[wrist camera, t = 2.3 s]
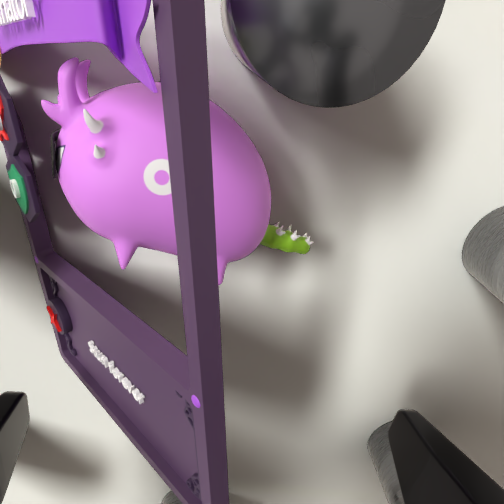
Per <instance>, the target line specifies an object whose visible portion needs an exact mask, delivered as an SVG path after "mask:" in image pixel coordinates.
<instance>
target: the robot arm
mask: <svg viewBox="0 0 504 504" xmlns="http://www.w3.org/2000/svg"><path fill="white" fill-rule="evenodd" d="M29 419H30V416H29V408H28V401H27V395H26V394H25V393H24V392H13V391H7V392H4V393H2V394H1V395H0V504H1V503H2V501H3V499H4V496H5V493H6V490H7V488H8V485H9V482H10V479H11V476H12V473H13V470H14V467H15V464H16V461H17V458H18V455H19V452H20V449H21V446H22V444H23V441H24V438H25V435H26V432H27V429H28V425H29ZM388 440H389V444H390V448H391V452H392V456H393V461H394V465H395V469H396V473H397V477H398V481H399V485H400V489H401V493H402V497H403V500H404V503H405V504H504V489H502V488H501V487H500V486H499V485H498V484H497V483H496V482H495V481H494V480H492V479H491V478H490V477H489V476H488V475H487V474H486V473H485V472H484V471H483V470H481V469H480V468H479V467H478V466H477V465H476V464H475V463H474V462H473V461H471V460H470V459H469V458H468V457H467V456H466V455H465V454H464V453H463V452H462V451H460V450H459V449H458V448H457V447H456V446H455V445H454V444H453V443H452V442H450V441H449V440H448V439H447V438H446V437H445V436H444V435H443V434H442V433H440V432H439V431H438V430H437V429H436V428H435V427H434V426H433V425H432V424H431V423H429V422H428V421H427V420H426V419H425V418H424V417H423V416H422V415H421V414H419V413H418V412H417V411H415V410H409V409H400V410H399V411H398V412H397V414H396V416H395V418H394V419H393V421H392V423H391V425H390V427H389V430H388Z"/></svg>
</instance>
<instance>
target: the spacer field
mask: <svg viewBox="0 0 504 504" xmlns="http://www.w3.org/2000/svg"><path fill="white" fill-rule="evenodd" d="M444 4H445V0H221V20H222V26H223V30H224V33H225V37H226V39H227V41H228V44H229V46H230V47H231V49H232V51H233V52H234V54H235V55H236V57H237V58H238V59H239V60H240V61H241V62H242V63H243V64H244V65H245V66H246V67H248V68H249V69H250V70H251V71H253V72H254V73H255V74H257V75H258V76H259V77H260V78H262V79H263V80H264V81H266V82H267V83H268V84H269V85H271V86H272V87H273V88H275V89H276V90H277V91H278V92H280V93H282V94H283V95H285V96H287V97H288V98H290V99H293V100H295V101H298V102H300V103H303V104H307V105H311V106H316V107H342V106H347V105H352V104H355V103H358V102H362V101H364V100H366V99H369V98H371V97H373V96H375V95H377V94H378V93H380V92H382V91H383V90H385V89H387V88H388V87H389V86H391V85H392V84H393V83H394V82H396V81H397V80H398V79H399V78H400V77H401V76H402V75H403V74H404V73H405V72H406V71H407V70H408V69H409V68H410V67H411V66H412V65H413V63H414V62H415V61H416V60H417V58H418V57H419V56H420V54H421V53H422V51H423V50H424V48H425V47H426V45H427V44H428V42H429V40H430V38H431V36H432V34H433V32H434V30H435V29H436V26H437V24H438V21H439V19H440V16H441V14H442V10H443V7H444ZM462 260H463V264H464V266H465V268H466V270H467V271H468V272H469V273H470V274H471V275H472V276H473V277H474V278H476V279H477V280H478V281H479V282H480V283H481V284H482V285H483V286H484V287H485V288H487V289H488V290H489V291H490V292H491V293H492V294H493V295H494V296H495V297H497V298H498V299H499V300H500V301H501V302H502V303H503V304H504V206H503V207H500V208H498V209H496V210H494V211H492V212H491V213H489V214H488V215H486V216H485V217H484V218H482V219H481V220H480V221H479V222H478V223H477V224H476V225H475V226H474V227H473V229H472V230H471V231H470V233H469V234H468V236H467V238H466V240H465V243H464V246H463V250H462ZM391 423H392V422H389V423H387V424H385V425H383V426H381V427H380V428H378V429H377V430H376V431H375V432H374V433H373V434H372V435H371V436H370V438H369V440H368V444H367V447H368V451H369V453H370V456H371V458H372V461H373V464H374V466H375V469H376V471H377V474H378V477H379V479H380V482H381V484H382V487H383V490H384V492H385V495H386V498H387V500H388V503H389V504H405V503H404V500H403V497H402V493H401V489H400V485H399V481H398V477H397V473H396V469H395V465H394V461H393V456H392V452H391V448H390V444H389V440H388V430H389V427H390V425H391ZM162 504H182V502H181V501H180V500H179V499H178V497H177V496H176V495H175V494H174V493H173V491H171V492H169V493H168V494H167V495H166V496H165V497H164V499H163V501H162Z"/></svg>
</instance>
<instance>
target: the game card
mask: <svg viewBox="0 0 504 504" xmlns="http://www.w3.org/2000/svg"><path fill="white" fill-rule="evenodd" d="M150 4H151V0H0V66H1V54H4V53H6V52H8V51H9V50H11V49H13V48H15V47H18V46H22V45H30V44H45V43H74V42H98V43H102V44H104V45H106V46H107V48H108V49H109V50H110V51H111V52H112V54H113V55H114V56H115V57H116V58H117V59H118V60H119V61H120V62H121V63H122V64H123V65H124V66H125V67H126V68H127V69H128V70H129V71H130V72H131V73H132V74H133V75H134V76H135V77H136V78H137V79H138V80H139V81H141V82H139V83H132V84H126V85H122V86H118V87H114V88H111V89H108V90H105V91H103V92H100V93H98V94H96V95H94V96H92V97H91V98H90V97H89V94H88V90H87V74H88V70H89V67H90V63H91V61H90V60H84V61H82V62H80V63H79V59H78V58H77V57H74V58H71V59H69V60H67V61H66V62H64V63H63V64H62V65H61V67H60V69H59V71H58V88H59V95H58V104H54V103H51V102H49V101H46V100H42V101H41V105H42V108H43V110H44V111H45V113H46V114H47V115H48V116H49V117H50V118H51V119H52V120H54V121H55V122H57V123H58V124H60V125H61V126H62V128H61V129H58V130H56V131H54V132H53V133H51V155H52V172H53V178H54V179H55V178H56V170H57V175H58V179H59V182H60V185H61V187H62V190H63V192H64V194H65V196H66V198H67V200H68V202H69V204H70V205H71V207H72V209H73V210H74V212H75V213H76V214H77V216H78V217H79V218H80V219H81V221H82V222H83V223H84V224H85V225H86V226H88V227H89V228H90V229H91V230H92V231H94V232H95V233H97V234H99V235H100V236H102V237H105V238H107V239H110V240H111V241H112V242H113V243H114V245H115V249H116V252H117V256H118V260H119V263H120V267H121V269H125V268H126V266H127V265H128V263H129V261H130V259H131V258H132V256H133V254H134V252H135V250H136V249H137V247H144V248H149V249H153V250H158V251H162V252H166V253H170V254H174V255H178V265H179V275H180V285H181V295H182V306H183V316H184V326H185V336H186V347H187V355H185V354H184V353H183V352H182V351H180V350H179V349H178V348H177V347H175V346H174V345H173V344H171V343H170V342H169V341H168V340H166V339H165V338H164V337H163V336H161V335H160V334H159V333H157V332H156V331H155V330H154V329H152V328H151V327H150V326H149V325H147V324H146V323H145V322H143V321H142V320H141V319H140V318H138V317H137V316H136V315H135V314H133V313H132V312H131V311H129V310H128V309H127V308H126V307H124V306H123V305H122V304H121V303H119V302H118V301H117V300H115V299H114V298H113V297H112V296H110V295H109V294H108V293H107V292H105V291H104V290H103V289H101V288H100V287H99V286H98V285H96V284H95V283H94V282H93V281H91V280H90V279H89V278H87V277H86V276H85V275H84V274H82V273H81V272H80V271H79V270H77V269H76V268H75V267H73V266H72V265H71V264H70V263H68V262H67V261H66V260H65V259H63V258H62V257H61V256H59V255H58V254H57V253H56V252H55V251H54V249H53V247H52V243H51V239H50V235H49V231H48V227H47V223H46V219H45V215H44V210H43V206H42V202H41V198H40V194H39V190H38V186H37V182H36V178H35V174H34V170H33V166H32V162H31V158H30V154H29V150H28V146H27V142H26V138H25V134H24V130H23V126H22V123H21V121H20V119H19V116H18V114H17V112H16V110H15V107H14V105H13V101H12V98H11V96H10V95H9V94H8V91H7V89H6V87H5V84H4V82H3V80H2V77H1V75H0V140H1V142H2V143H3V145H4V148H5V152H6V156H7V160H8V161H7V164H6V168H7V172H8V175H9V179H10V185H11V189H12V192H13V195H14V197H15V200H16V202H17V203H18V205H19V206H20V209H21V213H22V216H23V220H24V224H25V227H26V231H27V234H28V238H29V242H30V245H31V249H32V253H33V256H34V260H35V264H36V267H37V271H38V274H39V278H40V282H41V285H42V289H43V293H44V296H45V300H46V304H47V307H46V308H47V310H48V312H49V315H50V318H51V323H52V325H53V329H54V333H55V336H56V340H57V343H58V347H59V351H60V353H61V356H62V358H63V359H64V361H65V362H66V363H67V364H68V366H69V367H70V368H71V369H72V370H73V372H74V373H75V374H76V375H77V376H78V378H79V379H80V380H81V381H82V382H83V384H84V385H85V386H86V387H87V389H88V390H89V391H90V392H91V393H92V395H93V396H94V397H95V398H96V399H97V401H98V402H99V403H100V404H101V405H102V407H103V408H104V409H105V410H106V412H107V413H108V414H109V415H110V416H111V418H112V419H113V420H114V421H115V422H116V424H117V425H118V426H119V427H120V428H121V430H122V431H123V432H124V433H125V435H126V436H127V437H128V438H129V439H130V441H131V442H132V443H133V444H134V445H135V447H136V448H137V449H138V450H139V451H140V453H141V454H142V455H143V456H144V458H145V459H146V460H147V461H148V462H149V464H150V465H151V466H152V467H153V468H154V470H155V471H156V472H157V473H158V474H159V476H160V477H161V478H162V479H163V481H164V482H165V483H166V484H167V485H168V487H169V488H170V489H171V490H172V491H173V493H174V494H175V495H176V496H177V497H178V499H179V500H180V501H181V502H182V504H229V491H228V471H227V451H226V430H225V410H224V390H223V370H222V350H221V329H220V309H219V289H218V285H220V284H221V283H222V282H223V278H224V273H225V269H226V265H227V263H229V262H233V261H237V260H240V259H242V258H244V257H246V256H248V255H249V254H251V253H252V252H253V251H254V250H255V249H256V248H257V247H258V245H259V244H261V245H264V246H266V247H269V248H273V249H280V250H282V251H284V252H296V253H300V254H306V253H307V252H308V251H309V249H310V245H311V244H312V243H314V242H311V241H310V236H309V237H308V236H307V233H305V234H304V235H303V236H301V237H300V235H297V230H296V231H295V232H294V233H292V232H291V226H292V225H290V226H289V227H288V228H287V230H286V231H283V230H282V229H283V226H281V227H280V228H279V227H278V226H279V223H280V222H278V223H276V224H274V225H270V224H269V219H270V213H271V189H270V183H269V178H268V175H267V171H266V168H265V166H264V163H263V161H262V159H261V156H260V155H259V153H258V151H257V149H256V147H255V146H254V144H253V143H252V141H251V140H250V138H249V137H248V136H247V134H246V133H245V132H244V130H243V129H242V128H241V127H240V126H239V125H238V124H237V123H236V122H235V121H234V120H233V119H232V118H231V117H230V116H229V115H228V114H227V113H226V112H225V111H224V110H222V109H221V108H220V107H219V106H218V105H216V104H215V103H213V102H212V101H211V100H209V87H208V67H207V47H206V26H205V6H204V0H153V9H154V19H155V29H156V40H157V50H158V60H159V70H160V81H161V82H154V79H153V76H152V74H151V71H150V69H149V66H148V64H147V62H146V60H145V57H144V55H143V53H142V50H141V47H140V42H139V39H140V35H141V32H142V30H143V28H144V25H145V23H146V20H147V17H148V13H149V9H150ZM55 141H56V150H55V144H54V142H55ZM55 163H56V168H55ZM307 237H308V238H307Z"/></svg>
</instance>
